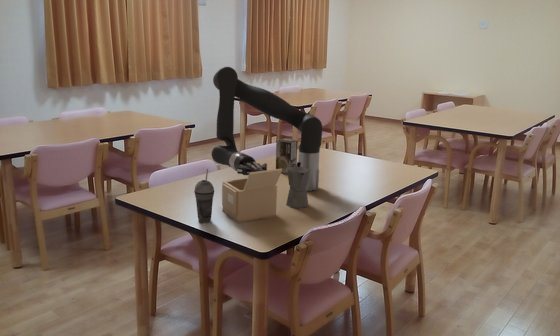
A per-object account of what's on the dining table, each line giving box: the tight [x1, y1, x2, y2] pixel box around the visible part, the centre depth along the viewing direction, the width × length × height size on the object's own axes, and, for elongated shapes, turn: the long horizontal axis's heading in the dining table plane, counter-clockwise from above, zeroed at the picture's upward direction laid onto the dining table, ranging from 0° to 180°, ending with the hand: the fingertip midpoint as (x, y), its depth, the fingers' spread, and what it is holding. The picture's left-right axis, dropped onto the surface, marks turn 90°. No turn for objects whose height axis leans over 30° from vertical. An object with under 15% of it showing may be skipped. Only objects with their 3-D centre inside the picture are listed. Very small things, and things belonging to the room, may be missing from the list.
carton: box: [221, 178, 278, 224], centre depth 194 cm, size 15×18×12 cm
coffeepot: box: [286, 161, 310, 209], centre depth 206 cm, size 15×9×18 cm, turn 13°
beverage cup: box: [193, 168, 215, 224], centre depth 184 cm, size 7×7×20 cm
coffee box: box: [275, 138, 298, 174], centre depth 255 cm, size 9×6×16 cm
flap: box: [243, 168, 283, 191], centre depth 183 cm, size 1×13×9 cm
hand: (263, 174), depth 182 cm, fingers closed
